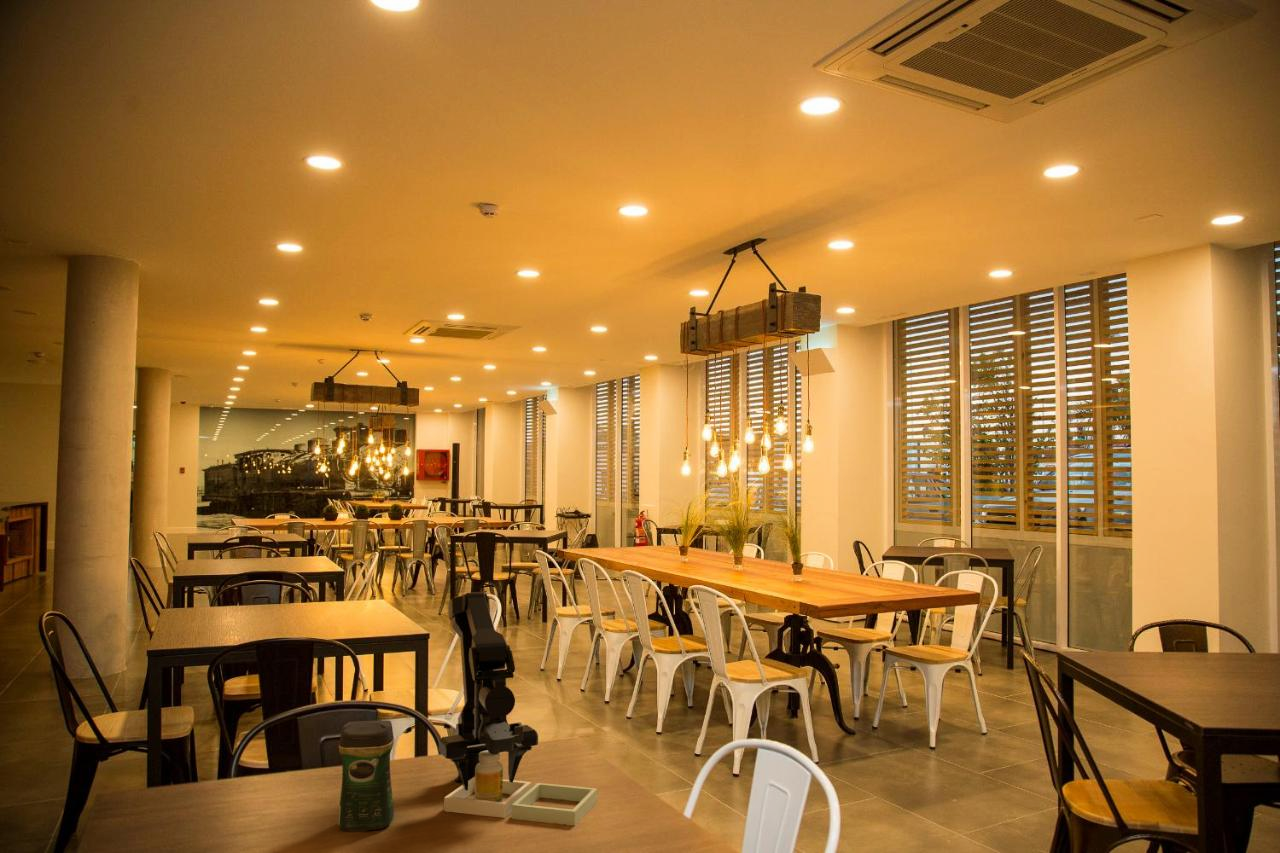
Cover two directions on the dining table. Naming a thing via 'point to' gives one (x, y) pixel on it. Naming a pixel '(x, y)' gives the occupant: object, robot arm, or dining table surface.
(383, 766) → the coffee jar
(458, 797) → the white bin
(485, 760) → the supplement bottle
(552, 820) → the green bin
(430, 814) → the dining table surface
